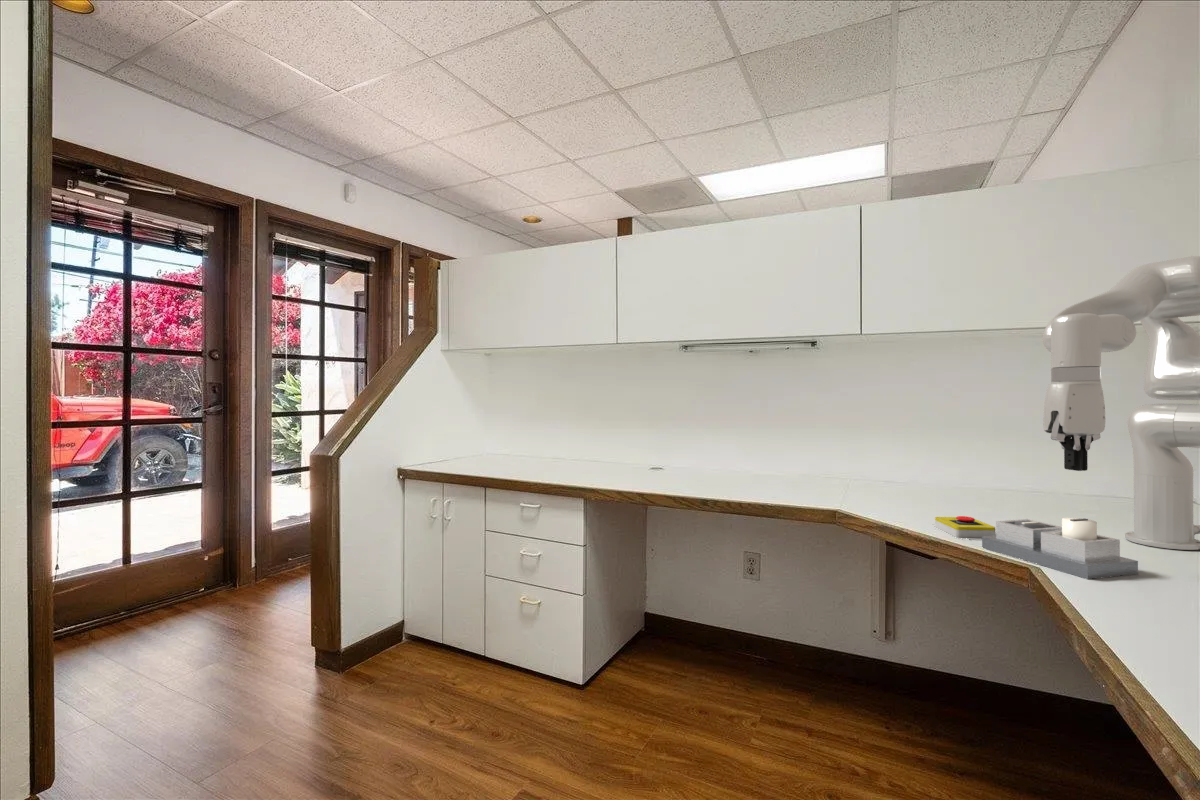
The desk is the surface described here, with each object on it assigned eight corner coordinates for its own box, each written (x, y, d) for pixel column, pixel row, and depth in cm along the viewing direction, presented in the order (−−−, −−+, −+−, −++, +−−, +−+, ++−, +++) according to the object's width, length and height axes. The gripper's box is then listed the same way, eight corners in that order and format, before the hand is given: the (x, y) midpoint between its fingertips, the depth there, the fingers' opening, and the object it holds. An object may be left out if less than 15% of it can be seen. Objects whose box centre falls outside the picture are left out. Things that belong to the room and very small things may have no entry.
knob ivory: (1075, 546, 113) (1075, 515, 113) (1104, 553, 108) (1103, 521, 108) (1055, 548, 112) (1055, 517, 111) (1082, 555, 106) (1082, 522, 106)
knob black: (1028, 547, 122) (1028, 519, 122) (1052, 553, 117) (1051, 524, 117) (1008, 549, 121) (1008, 520, 121) (1032, 555, 116) (1031, 525, 116)
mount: (1025, 544, 126) (1025, 517, 126) (1138, 574, 105) (1137, 541, 105) (982, 547, 124) (981, 520, 124) (1087, 579, 102) (1087, 545, 102)
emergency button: (959, 523, 131) (928, 510, 146) (959, 541, 131) (928, 526, 146) (1001, 524, 130) (966, 510, 145) (1001, 542, 130) (966, 527, 145)
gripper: (1085, 377, 115) (1086, 466, 115) (1026, 377, 112) (1026, 468, 112) (1126, 376, 108) (1126, 471, 108) (1064, 376, 105) (1064, 473, 105)
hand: (1075, 469), depth 110 cm, fingers closed
